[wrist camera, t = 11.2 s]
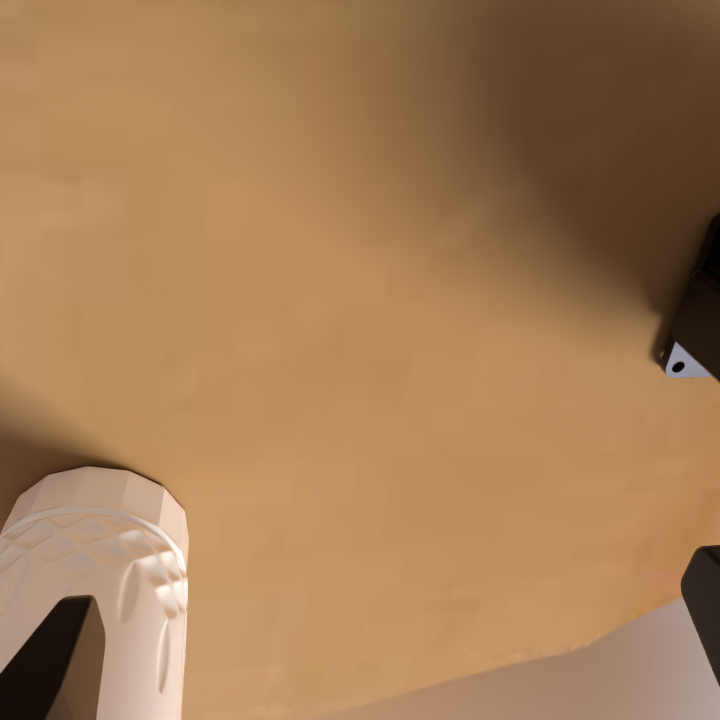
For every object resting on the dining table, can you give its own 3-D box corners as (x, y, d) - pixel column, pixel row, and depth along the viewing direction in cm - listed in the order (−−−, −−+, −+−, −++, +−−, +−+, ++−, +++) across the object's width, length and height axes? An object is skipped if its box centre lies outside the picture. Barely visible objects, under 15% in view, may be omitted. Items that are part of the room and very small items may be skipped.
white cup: (-29, 457, 23) (-197, 747, 15) (194, 447, 24) (158, 711, 16) (23, 596, 27) (-84, 883, 19) (211, 582, 28) (189, 848, 20)
